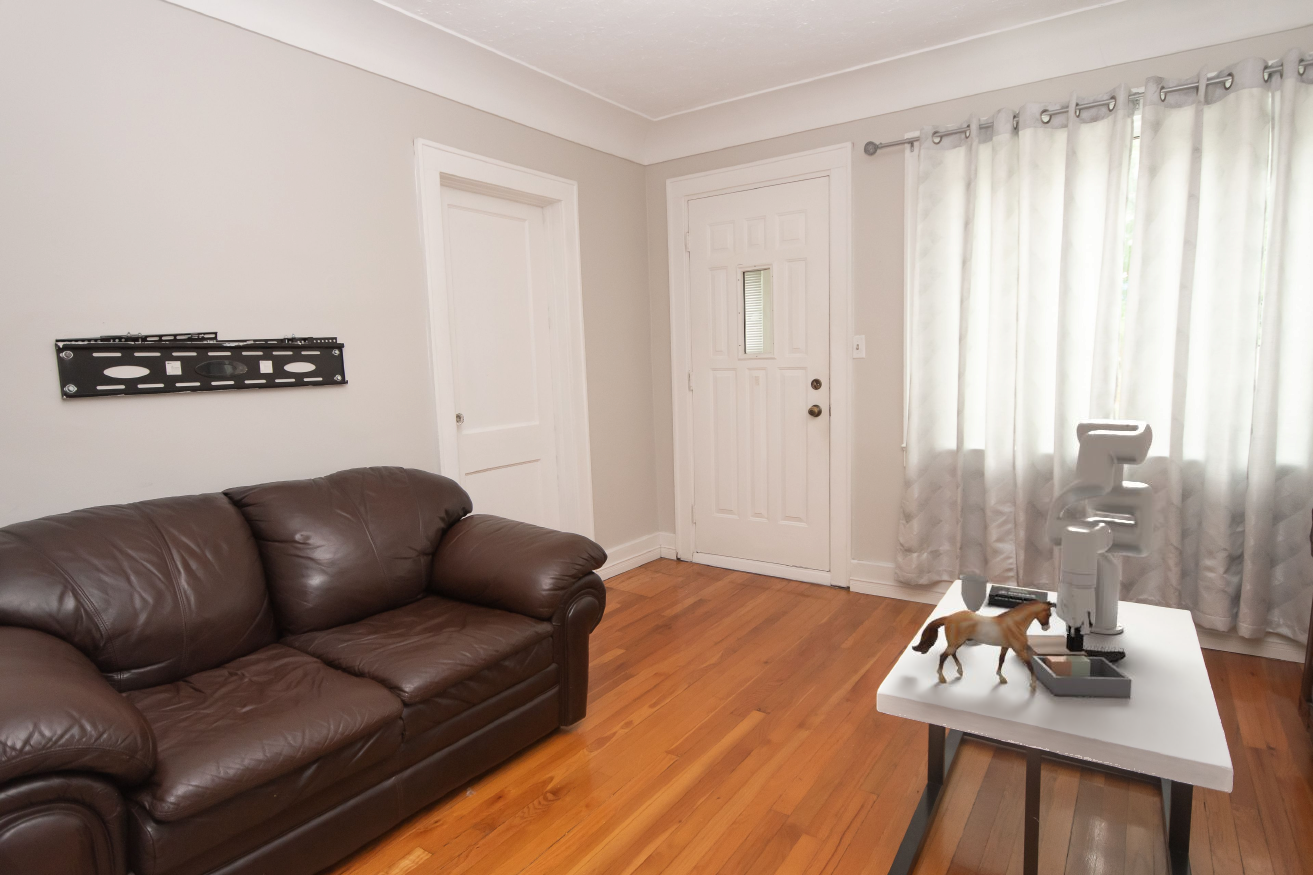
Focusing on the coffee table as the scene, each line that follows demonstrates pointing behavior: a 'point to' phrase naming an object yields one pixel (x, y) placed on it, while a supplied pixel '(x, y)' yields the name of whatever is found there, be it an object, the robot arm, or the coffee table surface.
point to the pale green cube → (1079, 666)
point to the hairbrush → (1106, 654)
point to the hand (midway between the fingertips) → (1074, 650)
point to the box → (1085, 680)
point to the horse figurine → (987, 634)
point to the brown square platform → (1049, 646)
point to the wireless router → (1015, 596)
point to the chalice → (973, 594)
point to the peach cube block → (1059, 665)
